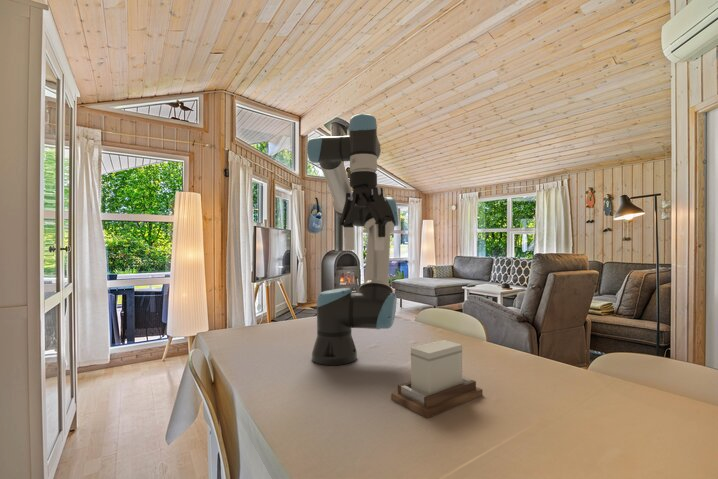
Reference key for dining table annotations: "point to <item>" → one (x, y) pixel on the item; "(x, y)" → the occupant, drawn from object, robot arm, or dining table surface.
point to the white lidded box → (436, 366)
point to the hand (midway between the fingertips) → (363, 250)
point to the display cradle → (436, 397)
